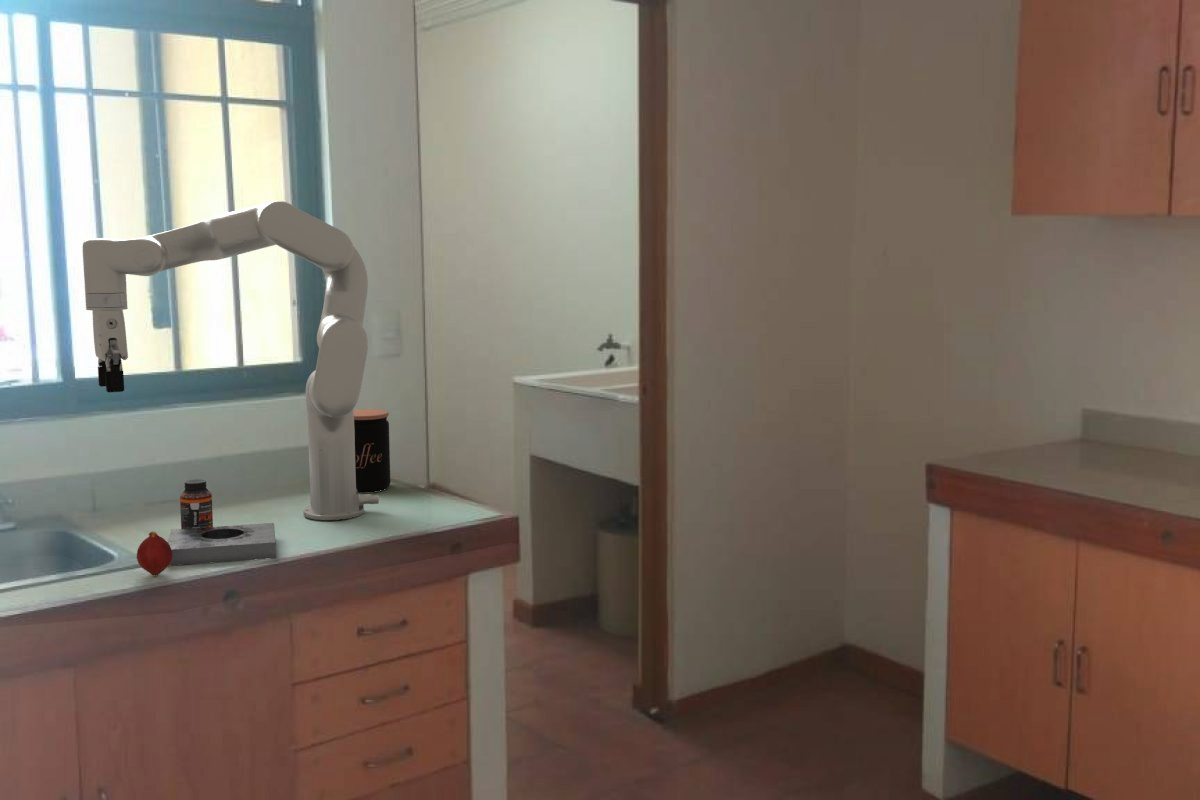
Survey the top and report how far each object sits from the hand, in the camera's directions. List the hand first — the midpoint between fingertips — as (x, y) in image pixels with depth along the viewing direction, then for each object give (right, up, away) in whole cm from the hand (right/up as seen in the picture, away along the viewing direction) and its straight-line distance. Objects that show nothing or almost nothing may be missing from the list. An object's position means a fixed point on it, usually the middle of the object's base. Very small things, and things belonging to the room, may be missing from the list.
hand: (111, 388), depth 233 cm
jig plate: (+26, -31, -11) cm, 41 cm away
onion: (+19, -33, -26) cm, 46 cm away
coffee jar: (+42, -23, +42) cm, 64 cm away
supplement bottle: (+17, -29, -1) cm, 34 cm away
